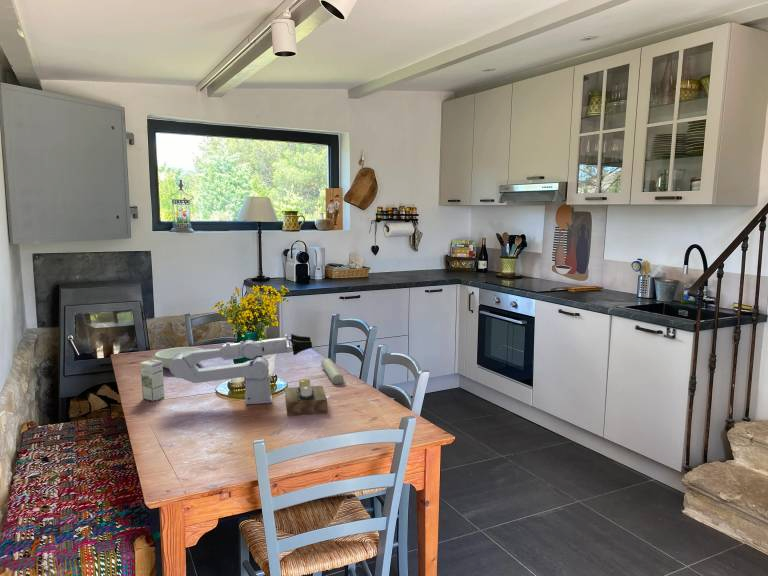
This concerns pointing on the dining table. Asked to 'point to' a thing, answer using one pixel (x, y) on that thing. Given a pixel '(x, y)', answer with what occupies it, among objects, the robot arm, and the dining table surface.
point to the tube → (332, 371)
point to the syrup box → (152, 379)
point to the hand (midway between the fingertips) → (311, 342)
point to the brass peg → (304, 383)
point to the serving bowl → (172, 354)
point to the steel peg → (306, 392)
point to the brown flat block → (305, 401)
